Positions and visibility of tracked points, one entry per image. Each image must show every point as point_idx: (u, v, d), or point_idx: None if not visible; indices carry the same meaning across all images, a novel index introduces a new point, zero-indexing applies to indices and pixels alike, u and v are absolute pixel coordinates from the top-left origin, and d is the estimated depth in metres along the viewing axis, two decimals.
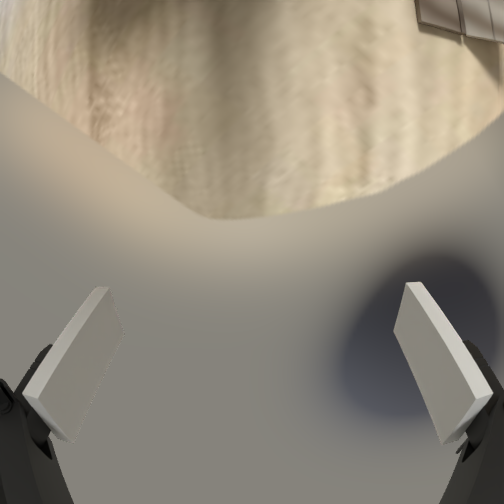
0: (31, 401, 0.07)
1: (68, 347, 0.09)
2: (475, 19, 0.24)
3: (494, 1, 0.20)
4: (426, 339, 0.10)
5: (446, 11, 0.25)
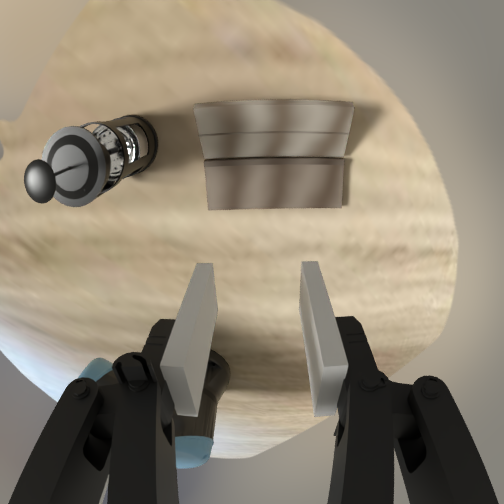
0: (169, 373, 0.09)
1: (197, 316, 0.11)
2: (326, 147, 0.41)
3: (300, 126, 0.38)
4: (307, 312, 0.12)
5: (324, 178, 0.44)
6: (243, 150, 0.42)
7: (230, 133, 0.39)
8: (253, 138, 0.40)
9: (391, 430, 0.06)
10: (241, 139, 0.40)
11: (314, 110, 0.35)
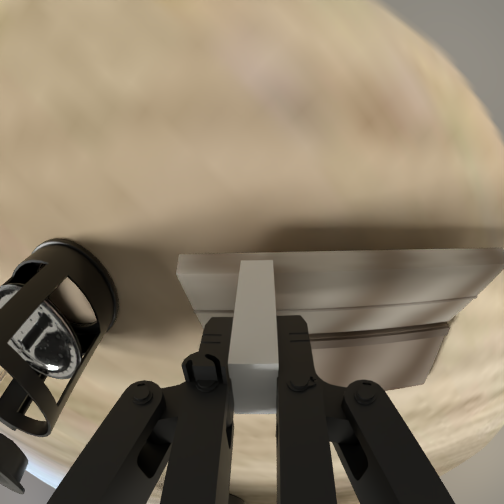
0: (236, 370, 0.09)
1: (255, 313, 0.11)
2: (432, 315, 0.20)
3: (407, 297, 0.18)
4: None
5: (412, 355, 0.23)
6: None
7: None
8: (308, 316, 0.20)
9: (326, 429, 0.07)
10: None
11: (446, 274, 0.15)
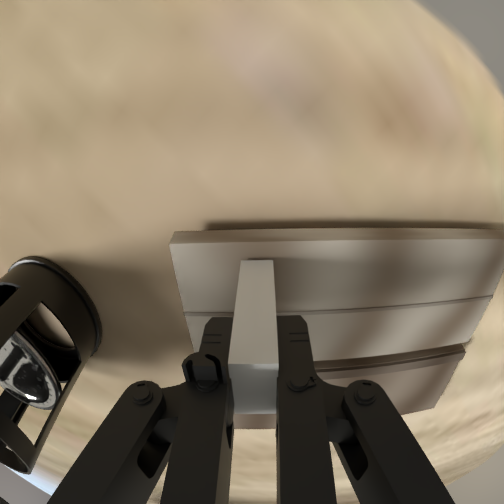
0: (236, 370, 0.09)
1: (255, 313, 0.11)
2: (449, 329, 0.18)
3: (419, 292, 0.16)
4: None
5: (424, 381, 0.20)
6: None
7: None
8: (312, 325, 0.17)
9: (326, 429, 0.07)
10: None
11: (454, 252, 0.14)
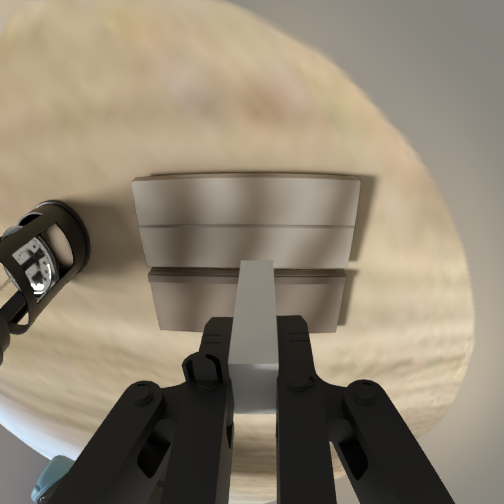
0: (236, 371, 0.09)
1: (255, 313, 0.11)
2: (321, 252, 0.29)
3: (282, 215, 0.27)
4: None
5: (316, 300, 0.32)
6: (200, 255, 0.30)
7: (180, 226, 0.28)
8: (213, 236, 0.28)
9: (326, 429, 0.07)
10: (196, 237, 0.29)
11: (302, 187, 0.26)
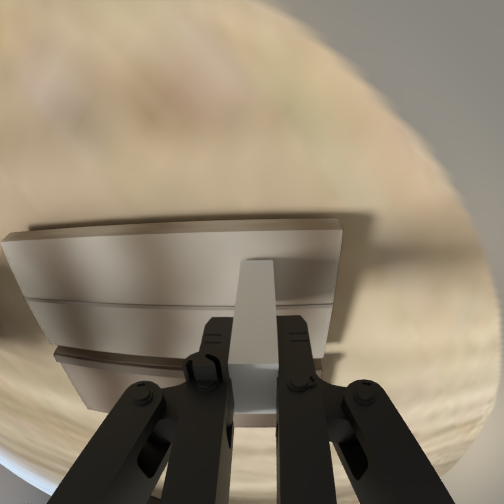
0: (236, 371, 0.09)
1: (255, 313, 0.11)
2: None
3: (205, 292, 0.16)
4: None
5: None
6: (103, 339, 0.18)
7: (67, 302, 0.17)
8: (112, 317, 0.17)
9: (326, 429, 0.07)
10: (91, 317, 0.17)
11: (232, 247, 0.14)
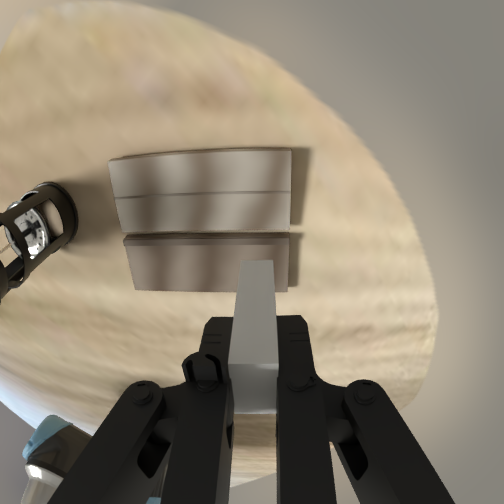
0: (236, 370, 0.09)
1: (255, 313, 0.11)
2: (264, 215, 0.34)
3: (226, 183, 0.32)
4: None
5: None
6: (163, 221, 0.35)
7: (146, 196, 0.33)
8: (173, 203, 0.34)
9: (326, 429, 0.07)
10: (159, 205, 0.34)
11: (241, 159, 0.31)
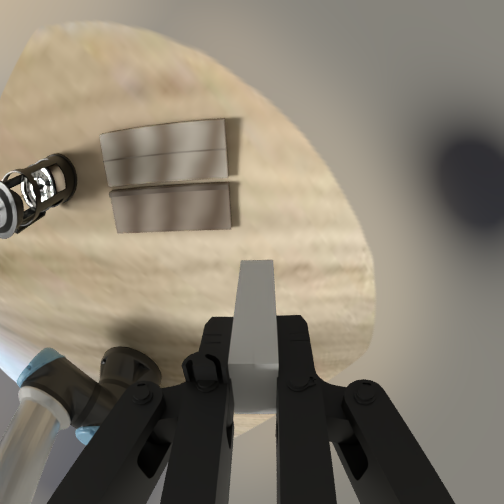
0: (236, 371, 0.09)
1: (255, 313, 0.11)
2: (208, 167, 0.45)
3: (180, 145, 0.43)
4: None
5: (211, 203, 0.48)
6: (137, 176, 0.46)
7: (125, 158, 0.44)
8: (144, 162, 0.45)
9: (326, 429, 0.07)
10: (135, 164, 0.45)
11: (189, 127, 0.42)
